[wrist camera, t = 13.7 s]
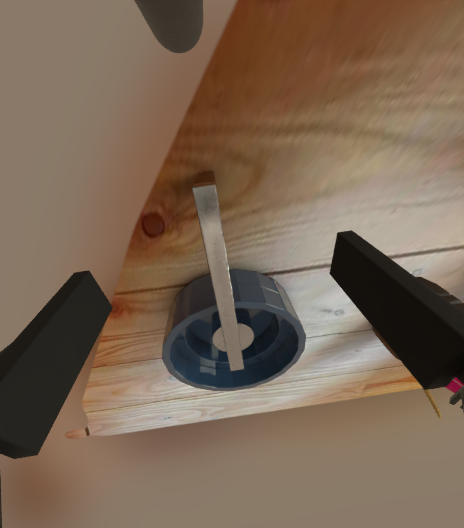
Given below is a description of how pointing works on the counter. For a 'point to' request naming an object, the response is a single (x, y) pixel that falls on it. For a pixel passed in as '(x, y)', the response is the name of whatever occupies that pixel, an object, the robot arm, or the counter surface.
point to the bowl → (254, 356)
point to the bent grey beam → (221, 275)
